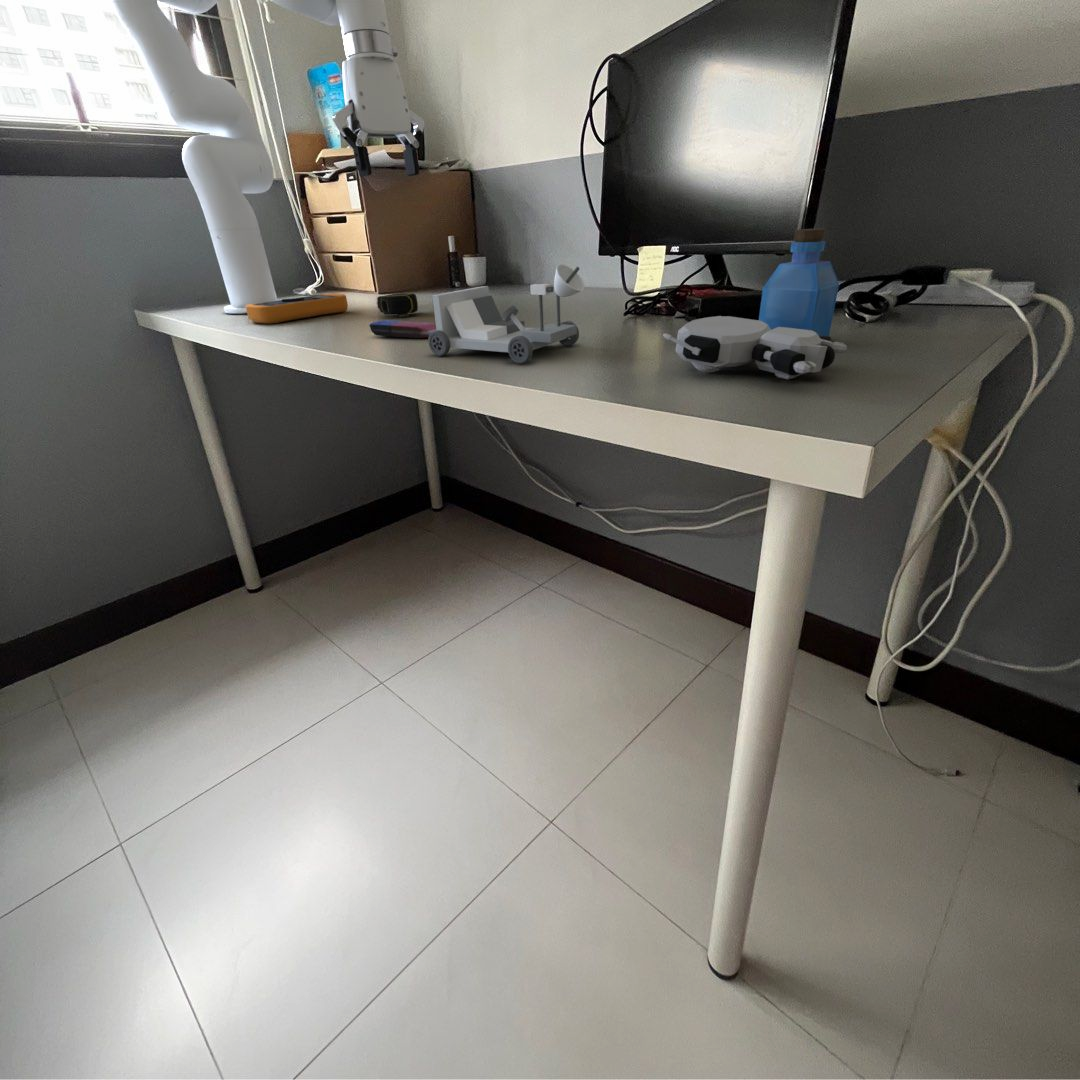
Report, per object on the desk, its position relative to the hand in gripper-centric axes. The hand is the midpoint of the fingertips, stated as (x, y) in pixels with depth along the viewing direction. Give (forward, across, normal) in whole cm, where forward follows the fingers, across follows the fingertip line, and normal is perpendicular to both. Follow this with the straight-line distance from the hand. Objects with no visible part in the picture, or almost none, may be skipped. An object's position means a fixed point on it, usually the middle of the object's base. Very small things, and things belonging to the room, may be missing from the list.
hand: (390, 175), depth 101 cm
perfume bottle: (+25, -6, +73) cm, 77 cm away
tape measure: (+23, +5, +3) cm, 24 cm away
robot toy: (+25, +10, +76) cm, 81 cm away
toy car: (+24, +16, +47) cm, 55 cm away
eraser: (+23, +17, +24) cm, 38 cm away
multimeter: (+22, +17, -15) cm, 31 cm away
